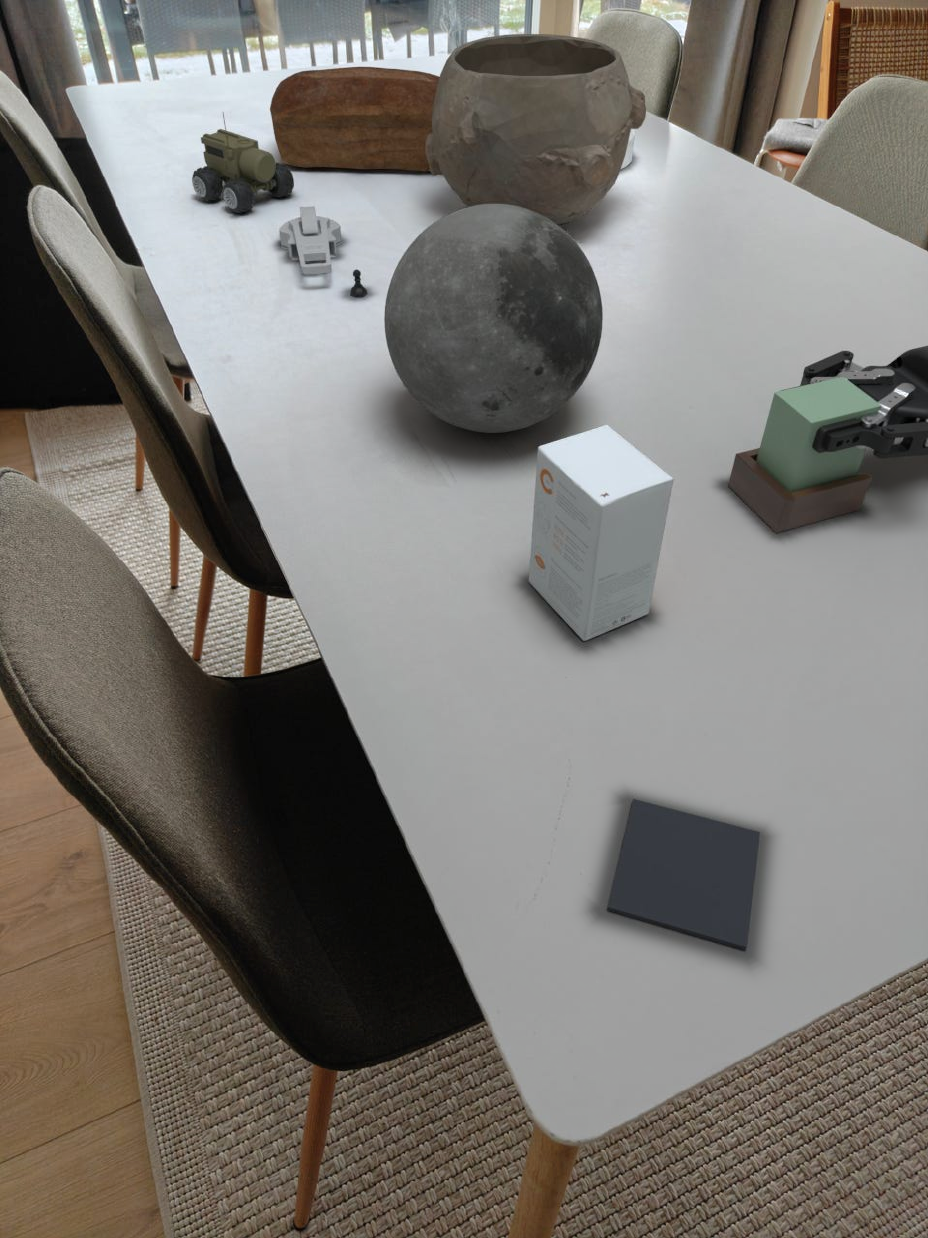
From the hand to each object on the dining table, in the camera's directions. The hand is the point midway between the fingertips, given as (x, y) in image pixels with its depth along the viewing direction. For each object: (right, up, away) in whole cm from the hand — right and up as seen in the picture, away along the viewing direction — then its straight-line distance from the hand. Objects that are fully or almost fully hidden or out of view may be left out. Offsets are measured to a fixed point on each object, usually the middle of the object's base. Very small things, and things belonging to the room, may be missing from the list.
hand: (796, 422), depth 77 cm
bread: (-42, +55, +68) cm, 97 cm away
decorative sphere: (-25, +4, +16) cm, 30 cm away
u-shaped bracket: (+2, -5, +7) cm, 9 cm away
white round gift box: (-11, +56, +69) cm, 90 cm away
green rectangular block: (+2, -5, +7) cm, 9 cm away
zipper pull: (-47, +29, +42) cm, 69 cm away
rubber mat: (-14, -32, -20) cm, 40 cm away
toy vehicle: (-59, +44, +57) cm, 93 cm away
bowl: (-19, +39, +52) cm, 68 cm away
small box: (-18, -15, -3) cm, 23 cm away
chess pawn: (-40, +23, +35) cm, 58 cm away
